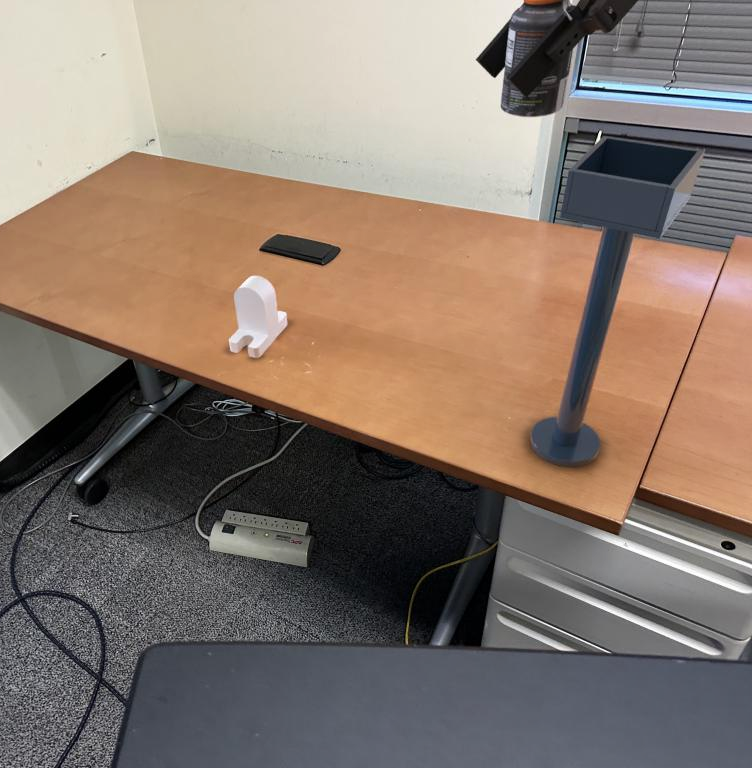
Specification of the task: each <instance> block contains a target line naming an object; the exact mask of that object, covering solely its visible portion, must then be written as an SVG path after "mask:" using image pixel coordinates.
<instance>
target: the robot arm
mask: <svg viewBox="0 0 752 768" xmlns="http://www.w3.org/2000/svg"><path fill="white" fill-rule="evenodd" d="M638 2H639V0H578V2H577V4H575V5H573V6H567V8H566V12H567V13H568V14H569V15H570V16H571V18H572V20H571V21H570V19H569V18H568V17H567V16H565V15H563V14H562V15H561V16H560V17H559V18H558V20H557V21H556V22H555V23H554V24H553V25H552V26H551V27H550V29H549V30H548V31H547V32H546V33H545V34H544V35H543V37H542V38H541V39H540V40H539V41H538V42H537V43H536V44H535V46H534V47H533V48H532V49H531V50H530V51H529V52H528V53H527V55H526V56H525V57H524V58H523V59H522V60H521V61H520V63H519V64H518V65H517V66H516V67H515V68H514V69H513V70H512V72H511V73H510V74H509V75H508V76H507V77H506V78H507V79H508V80H509V81H510V82H511V83H512V84H513V85H514V86H515V87H516V88H517V89H518V90H519V92H520V93H521V94H522V95H524V96H525V97H528V96H529V95H530V94H531V92H532V91H533V90H534V89H535V88H536V87H537V86H538V85H539V84H540V83H541V81H542V80H543V79H544V78H545V77H546V76H547V75H548V74H549V73H550V72H551V70H552V69H553V68H554V67H555V66H556V65H557V64H558V63H560V62H561V61H562V60H563V59H564V58H565V57H566V56H567V54H569V53H570V52H571V50H572V49H573V50H574V49H575V47H576V46H577V45H578V44H579V43H580V42H581V41H582V40H583V39H584V38H585V37H586V36H591V35H592V34H594V33H596V31H601V32H602V33H603V34H609V33H610V32H612V31H613V30H614V29H615V28H616V27H617V26H618V24H620V23H621V21H622V20H623V19H624V18H625V17H626V15H628V13H629V12H630V11H631V10H632V8H633V7H634V6H635V5H636V4H637V3H638ZM523 5H524V2H523V3H522V4H521V6H520V7H522V6H523ZM610 11H611V12H610ZM510 19H511V17H510V18H509V19H508V20H507V22H506V23H505V24H504V25H503V27H502V28H501V29H500V30H499V31H498V32H497V34H496V35H495V36H494V37H493V38H492V40H491V41H490V42H489V43H488V44H487V45H486V47H485V48H484V49H483V50H482V51H481V52H480V54H479V55H478V56H477V57H476V58H475V61H476V62H477V63H478V65H480V66H481V67H482V69H484V70H485V71H486V72H487V73H488V74H489V75H490V76H491V77H492V78H494V79H496V78H497V77H498V76H499V74H500V73H501V72H502V71H504V70H505V60H506V52H507V43H508V34H509V25H510Z"/></svg>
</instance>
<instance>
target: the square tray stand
mask: <svg viewBox="0 0 752 768" xmlns="http://www.w3.org/2000/svg"><path fill="white" fill-rule="evenodd" d="M705 152H706V150H705V149H699V148H693V147H687V146H679V145H672V144H666V143H658V142H650V141H644V140H636V139H629V138H622V137H616V136H609V135H608V136H607V135H603V136H602V137H600V139H599V140H598V141H597V142H596V143H595V144H594V145H593V146H592V147H591V148H590V149H589V150H588V151H586V153H584V154H583V156H581V158H579V160H577V161H576V162H575V163H574V164H573V165H572V166H571V167H570V168H569V169H568V171H567V176H566V181H565V187H564V192H563V197H562V202H561V207H560V213H559V219H564V220H569V221H573V222H578V223H582V224H589V225H593V226H598V227H601V231H600V232H601V233H600V235H599V236H600V237H599V241H598V245H597V249H596V254H595V257H594V262H593V266H592V270H591V274H590V278H589V283H588V287H587V291H586V295H585V300H584V304H583V308H582V310H581V311H582V312H581V316H580V321H579V324H578V328H577V332H576V337H575V341H574V345H573V349H572V354H571V358H570V361H569V365H568V370H567V374H566V379H565V383H564V387H563V391H562V395H561V399H560V404H559V408H558V412H557V416H550V417H547V418H544V419H541V420H539V421H538V422H536V424H534V425H533V427H532V429H531V432H530V436H529V437H530V440H529V441H530V446H531V448H532V450H533V451H534V452H535V454H536V455H538V457H540V458H541V459H543V460H545V461H546V462H548V463H550V464H553V465H555V466H559V467H565V468H578V467H583V466H586V465H588V464H590V463H592V462H593V461H595V459H596V458H598V457H597V456H598V455H599V451H600V449H601V440H600V437H599V436H598V434H597V432H596V431H595V430H594V429H593V428H592V427H591V426H590V425H588V424H586V423H584V420H585V417H586V413H587V409H588V406H589V402H590V398H591V395H592V392H593V387H594V384H595V380H596V377H597V373H598V371H599V366H600V362H601V359H602V356H603V351H604V347H605V344H606V340H607V338H608V337H607V336H608V333H609V331H610V326H611V322H612V318H613V315H614V311H615V308H616V304H617V301H618V297H619V293H620V290H621V286H622V282H623V278H624V275H625V273H626V272H625V271H626V267H627V263H628V261H629V257H630V254H631V253H630V252H631V249H632V246H633V242H634V239H635V236H636V235H640V236H644V237H650V238H654V239H661V238H662V236H663V235H664V234H665V232H667V230H668V228H669V227H670V226H671V224H672V223H673V222H674V221H675V220H676V218H677V217H678V215H679V214H680V212H681V211H682V210H683V208H684V207H685V205H686V204H687V203H688V202H689V200H690V199H691V196H692V193H693V190H694V187H695V183H696V180H697V177H698V174H699V171H700V168H701V165H702V161H703V158H704V155H705Z"/></svg>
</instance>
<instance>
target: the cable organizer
mask: <svg viewBox="0 0 752 768" xmlns="http://www.w3.org/2000/svg"><path fill="white" fill-rule="evenodd" d="M233 300H234V308H235V314H236V321H237V328H238V329H237V330H236V331H235V332H234V333H233V334H232V335H231V336H230V337H229V338H228V344H229V351H230V352H231V353H235V354H239V353H240V352H241V351H242V350H243V348H244V347H246V346H247V352H248V357H249V358H253V359H258V358H259V359H260V358H261V357H262V355H263V354H264V353H265V352H266V351H267V350H268V348H270V346H271V345H272V344H273V343H274V341H275V340H276V339H277V338H278V337H279V336H280V334H281V333H282V332H283V331H284V330H285V329H286V328H287V326H288V315H287V312H286V311H282V310H278V303H277V294H276V290H275V288H274V286H273V284H272V283H271V281H269V280H268V279H266V278H265V277H264V276H260V275H251V276H249V277H248V278H247V279H246V280H244V282H243V283H242V284H240V286H238V288H237V289H236V290H235V292H234V295H233Z"/></svg>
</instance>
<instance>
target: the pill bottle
mask: <svg viewBox="0 0 752 768" xmlns="http://www.w3.org/2000/svg"><path fill="white" fill-rule="evenodd" d="M523 3H524V5H523V6H522V5H521V6H522V7H521V6H519V7H518V8H517V9H515V10H514V11H513V12H512V14H511V16H510V18H511V19H510V18H509V20H510V25H509V34H508V43H507V52H506V60H505V67H504V70H503V71H504V73H503V80H502V89H501V95H500V98H501V99H500V109H501V110H502V111H503V112H504V113H506V114H508V115H510V116H514V117H519V118H540V117H547V116H550V115H554V114H555V113H558V112H560V110H562V109H563V107H564V105H565V101H566V95H567V89H568V82H569V76H570V71H571V64H572V59H573V53H574V48H573V49H572V50H571V52H570V53H569V54H567V56H566V57H565V58H564V59H563V60H562V61H561V62H560V63H558V64H557V65H556V66H555V67H554V68H553V69H552V70H551V72H550V73H549V74H548V75H547V76H546V77H545V78H544V79H543V80H542V81H541V83H540V84H539V85H538V86H537V87H536V88H535V89H534V90H533V91H532V92H531V94H530V95H529V96H528V97H525V96H524V95H522V94H521V93H520V92H519V90H518V89H517V88H516V87H515V86H514V85H513V84H512V83H511V82H510V81H509V80H508V79H507V78H506V77H507V76H508V75H509V74H510V73H511V72H512V70H513V69H514V68H515V67H516V66H517V65H518V64H519V63H520V61H521V60H522V59H523V58H524V57H525V56H526V55H527V53H528V52H529V51H530V50H531V49H532V48H533V47H534V46H535V44H536V43H537V42H538V41H539V40H540V39H541V38H542V37H543V35H544V34H545V33H546V32H547V31H548V30H549V29H550V27H551V26H552V25H553V24H554V23H555V22H556V21H557V20H558V18H559V17H560V16H561V15H562V14H563V15H565V16H567V17H568V18H569V19H570V21H571V20H572V18H571V16H570V15H569V14H568V13H567V12H566V8H567V6H574V5H573V4H572V3H571V1H570V0H523Z"/></svg>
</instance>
